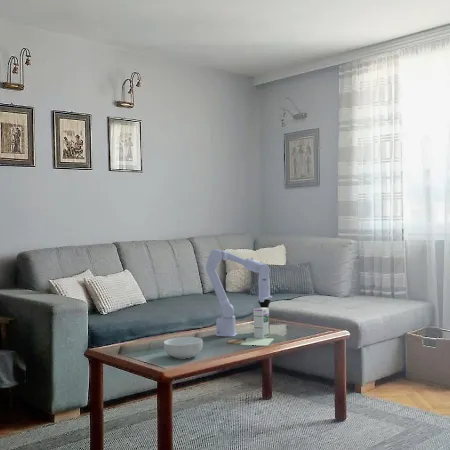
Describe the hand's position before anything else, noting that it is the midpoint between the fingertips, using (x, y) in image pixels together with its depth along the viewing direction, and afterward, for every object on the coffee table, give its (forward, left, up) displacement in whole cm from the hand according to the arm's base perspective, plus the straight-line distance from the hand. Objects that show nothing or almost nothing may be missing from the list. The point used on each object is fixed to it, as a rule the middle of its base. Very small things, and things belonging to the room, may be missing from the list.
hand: (264, 314), depth 295 cm
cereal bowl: (-25, -54, -10) cm, 60 cm away
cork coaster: (-10, -21, -10) cm, 25 cm away
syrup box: (0, -9, -10) cm, 14 cm away
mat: (0, -20, -10) cm, 22 cm away
